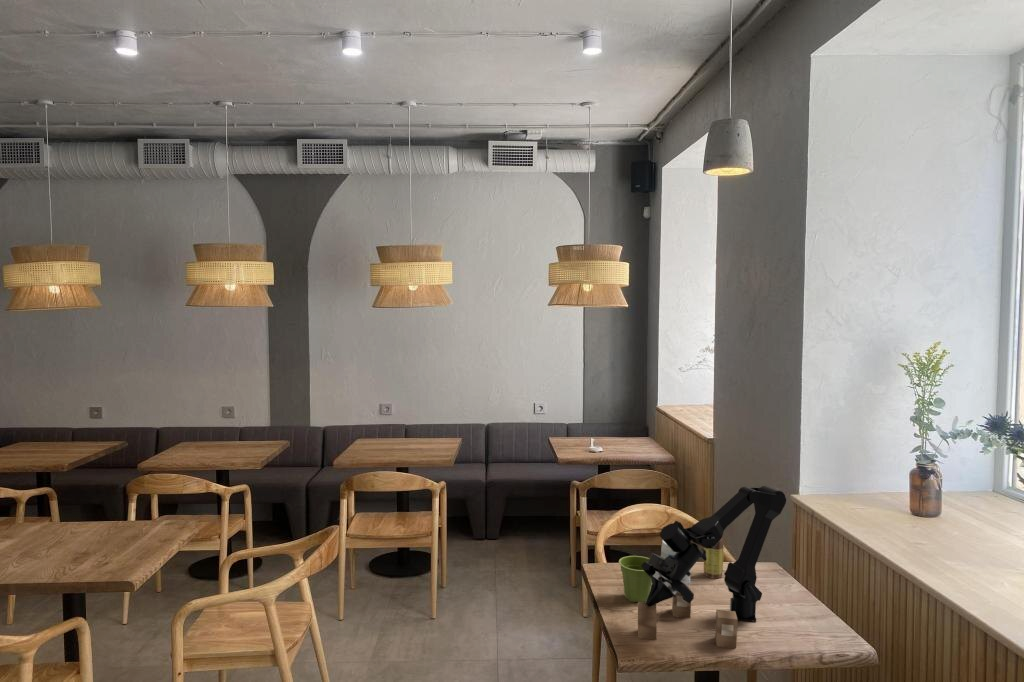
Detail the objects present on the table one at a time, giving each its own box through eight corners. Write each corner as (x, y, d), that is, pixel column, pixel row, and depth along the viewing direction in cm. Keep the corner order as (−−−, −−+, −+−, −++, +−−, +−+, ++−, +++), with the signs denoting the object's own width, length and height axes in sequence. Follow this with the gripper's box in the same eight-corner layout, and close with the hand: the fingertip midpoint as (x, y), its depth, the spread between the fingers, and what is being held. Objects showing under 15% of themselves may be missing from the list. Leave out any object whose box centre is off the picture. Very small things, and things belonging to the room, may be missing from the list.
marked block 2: (733, 639, 199) (735, 611, 199) (736, 648, 194) (737, 619, 193) (715, 637, 200) (716, 609, 199) (717, 646, 195) (718, 617, 194)
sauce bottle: (708, 570, 249) (710, 513, 247) (725, 575, 245) (728, 517, 243) (699, 576, 243) (702, 518, 242) (717, 581, 240) (720, 522, 238)
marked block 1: (689, 610, 217) (690, 584, 216) (690, 618, 212) (691, 591, 211) (672, 609, 218) (673, 583, 217) (672, 616, 212) (673, 590, 212)
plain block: (656, 630, 203) (656, 603, 202) (656, 639, 198) (656, 611, 197) (638, 629, 204) (638, 601, 203) (637, 637, 199) (637, 609, 198)
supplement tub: (668, 593, 229) (669, 548, 228) (654, 582, 238) (656, 538, 237) (695, 590, 231) (697, 545, 230) (681, 579, 240) (682, 536, 239)
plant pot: (612, 601, 222) (613, 565, 222) (625, 587, 233) (626, 553, 232) (649, 609, 217) (650, 572, 216) (661, 595, 227) (662, 560, 227)
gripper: (647, 533, 210) (613, 575, 206) (687, 555, 193) (649, 601, 189) (669, 557, 213) (635, 598, 210) (709, 580, 196) (673, 626, 193)
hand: (647, 605), depth 200 cm, fingers closed, pressing on plain block
